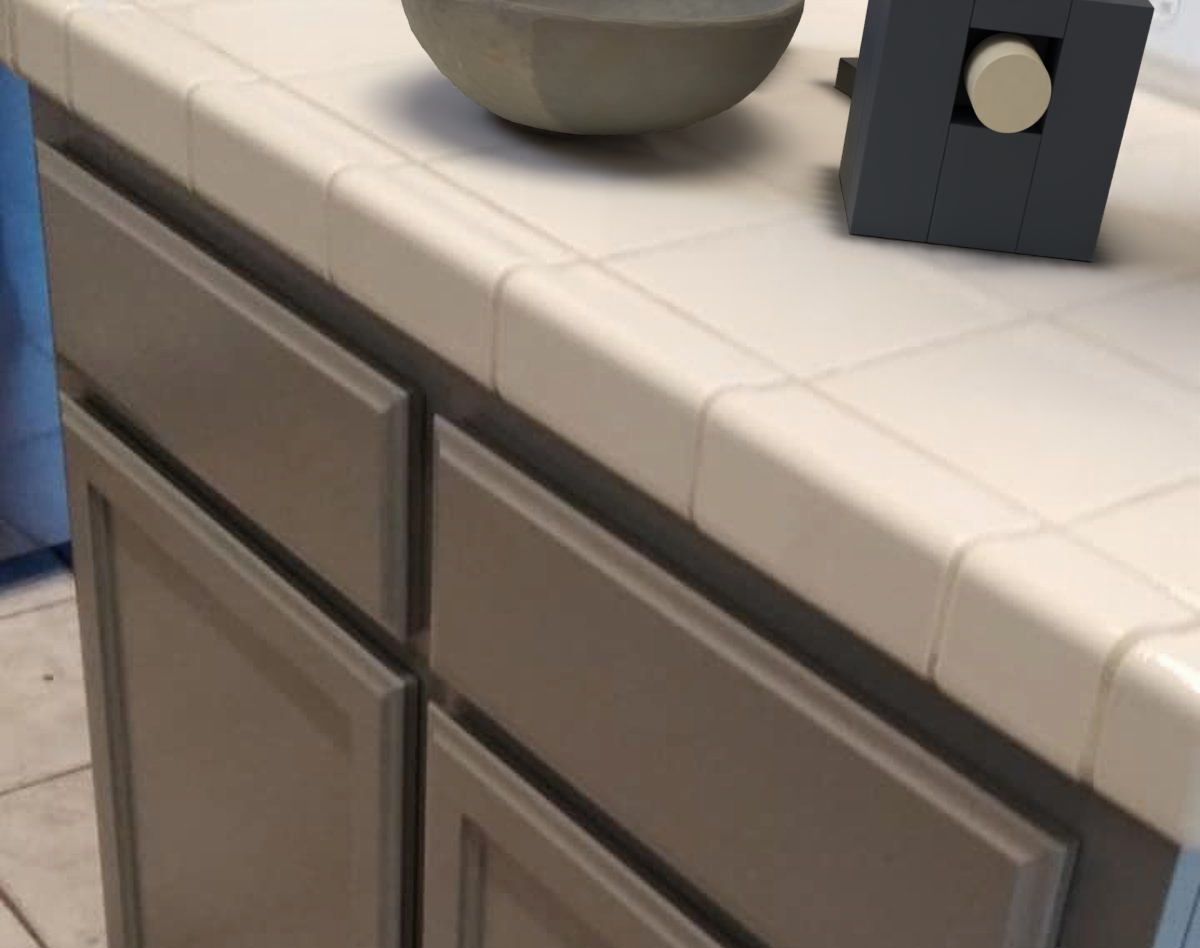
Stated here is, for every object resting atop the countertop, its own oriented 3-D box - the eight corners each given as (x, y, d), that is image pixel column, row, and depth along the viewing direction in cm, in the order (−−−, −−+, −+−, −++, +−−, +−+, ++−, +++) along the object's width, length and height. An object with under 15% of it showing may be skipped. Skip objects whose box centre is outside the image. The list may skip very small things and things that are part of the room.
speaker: (838, 173, 107) (882, -86, 100) (1063, 199, 107) (1123, -57, 100) (849, 234, 99) (898, -42, 92) (1092, 262, 100) (1159, -11, 92)
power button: (956, 105, 97) (972, 28, 95) (1031, 114, 97) (1047, 37, 95) (964, 128, 94) (981, 48, 92) (1041, 137, 94) (1059, 58, 92)
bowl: (536, 205, 98) (551, 34, 93) (319, 80, 111) (322, -75, 106) (859, 160, 109) (886, 5, 105) (627, 51, 122) (642, -90, 118)
